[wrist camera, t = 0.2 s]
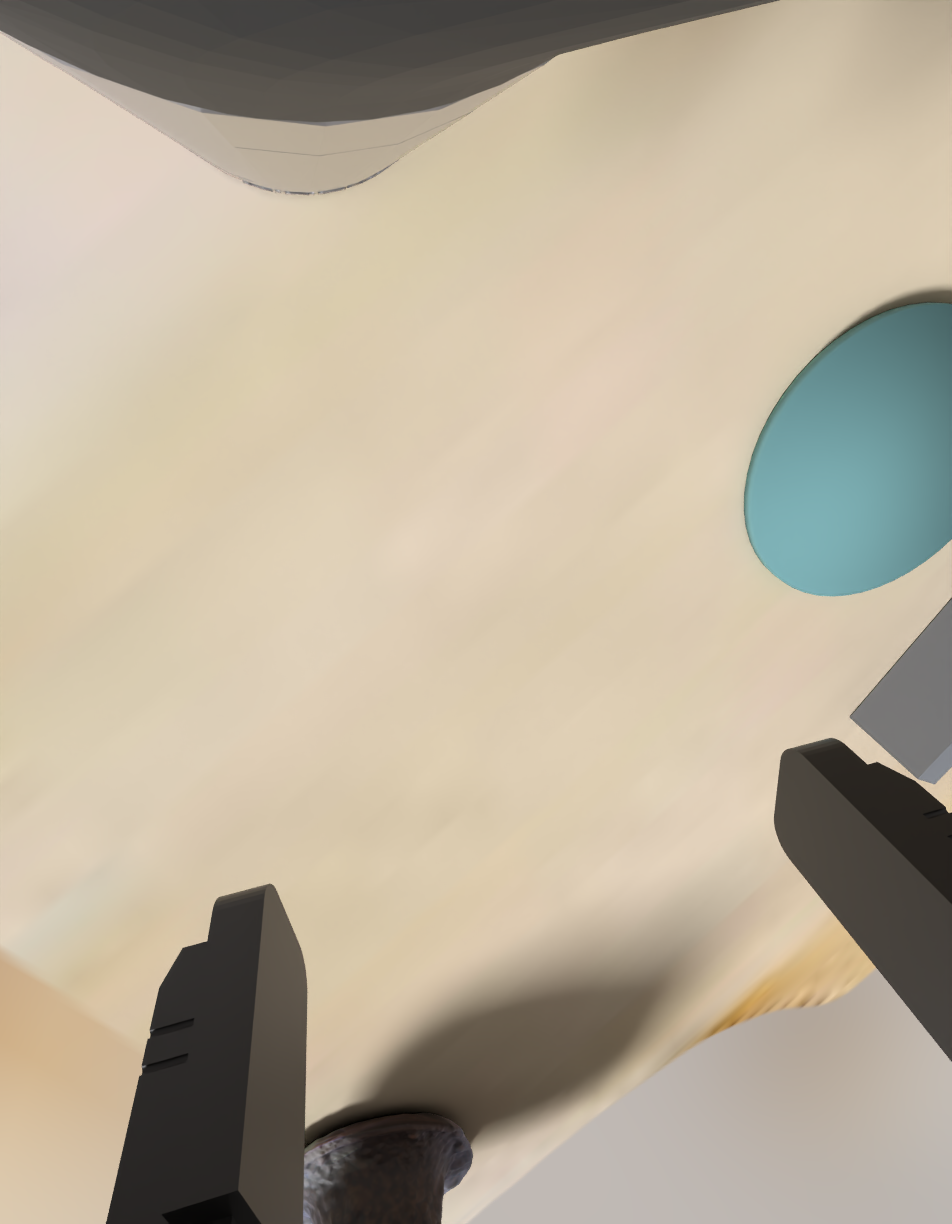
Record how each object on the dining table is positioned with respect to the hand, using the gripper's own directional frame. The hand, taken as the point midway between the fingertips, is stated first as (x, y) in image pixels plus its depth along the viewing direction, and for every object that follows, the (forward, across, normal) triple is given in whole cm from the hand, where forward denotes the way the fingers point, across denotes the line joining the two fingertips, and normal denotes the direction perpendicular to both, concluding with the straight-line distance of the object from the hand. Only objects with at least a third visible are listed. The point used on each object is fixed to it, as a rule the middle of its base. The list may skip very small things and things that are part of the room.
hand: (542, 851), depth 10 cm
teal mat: (+18, -21, +2) cm, 28 cm away
